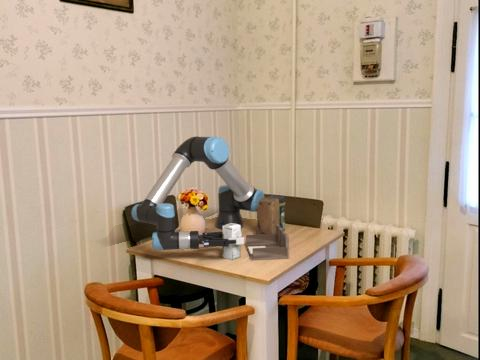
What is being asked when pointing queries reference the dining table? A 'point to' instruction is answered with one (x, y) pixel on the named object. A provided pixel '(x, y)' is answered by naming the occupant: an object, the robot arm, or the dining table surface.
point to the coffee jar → (281, 209)
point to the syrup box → (231, 232)
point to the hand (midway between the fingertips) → (242, 237)
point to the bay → (268, 245)
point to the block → (268, 215)
